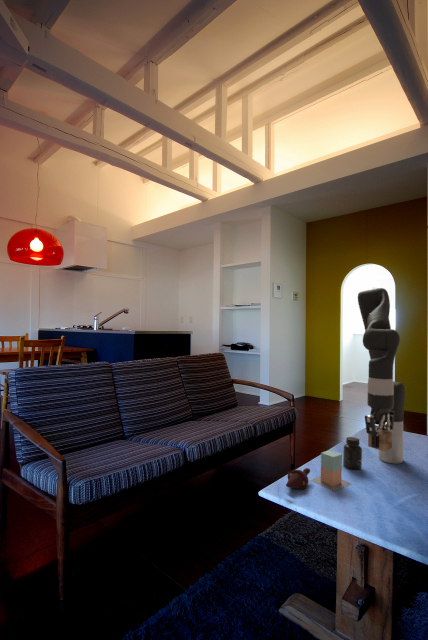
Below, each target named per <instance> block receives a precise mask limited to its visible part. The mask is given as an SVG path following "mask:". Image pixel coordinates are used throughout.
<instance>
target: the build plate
mask: <svg viewBox="0 0 428 640" xmlns="http://www.w3.org/2000/svg"><path fill="white" fill-rule="evenodd" d="M310 481H311V482H314V483H316V484H318V485H320V486H322V487H324V488H326V489H329V490H331V491H333V492H336V491H338V490H341V489H343V488H346V487H348V486H350V485H352V483H350V482H348V481H347V480H343V479H342V478H341V483H340V484H337V485H335V486H331V485H328V484H326V483H324V482H322V481H321V475H320V476H318V477H315V478H312V479H310Z"/></svg>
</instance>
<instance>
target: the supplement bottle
mask: <svg viewBox="0 0 428 640" xmlns="http://www.w3.org/2000/svg"><path fill="white" fill-rule="evenodd" d="M345 440H346V441H345V444H344V445H343V449H342V450H343V451H342V452H343V454H342V467H344V468H345V469H347V470H351V471H361V470H362V467H363V465H362V464H363V449H362V447H361V445H360V439H359V437H358V438H357V437H354V436H353V437H352V436H348V437H346V439H345Z"/></svg>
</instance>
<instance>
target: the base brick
mask: <svg viewBox="0 0 428 640" xmlns="http://www.w3.org/2000/svg"><path fill="white" fill-rule="evenodd" d="M342 469H343V468H342ZM342 469H339V470H336V471H334V472H332V471H330V470H328V469H325V468H323V467H321V466H320V476H321V481H322V482H324V483H326V484H328V485H331V486H335V485H337V484H340V483H341V479H342V471H343V470H342Z"/></svg>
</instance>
